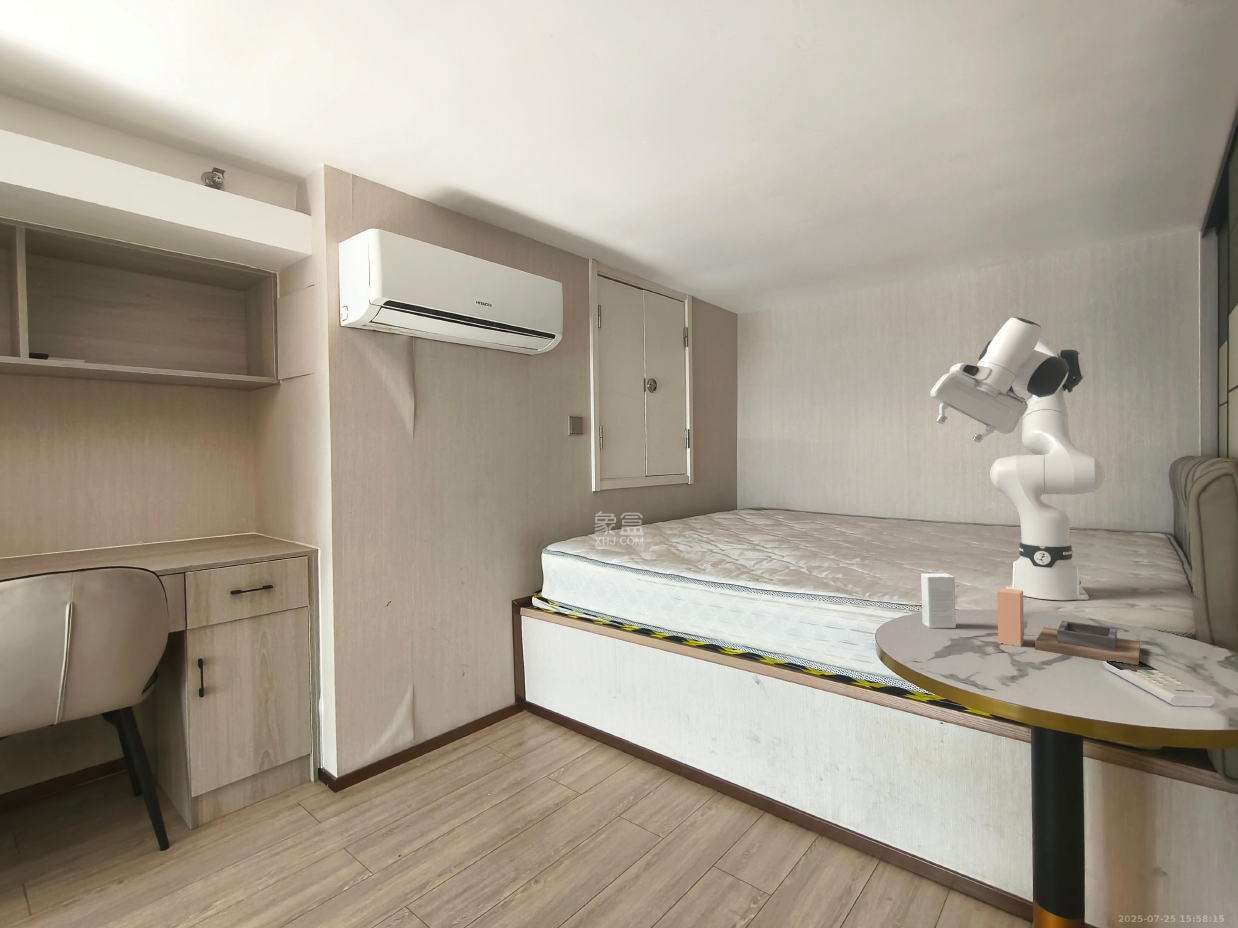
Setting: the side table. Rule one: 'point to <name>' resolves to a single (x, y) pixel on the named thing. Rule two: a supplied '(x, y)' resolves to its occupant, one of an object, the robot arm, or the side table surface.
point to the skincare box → (938, 600)
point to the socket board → (1088, 642)
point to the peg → (1010, 617)
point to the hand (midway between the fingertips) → (957, 431)
